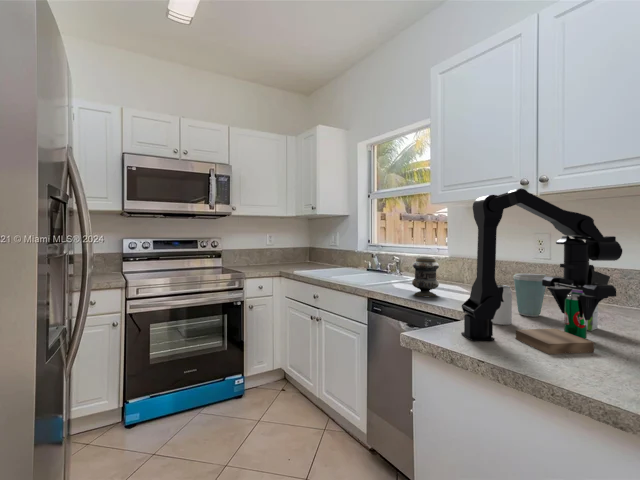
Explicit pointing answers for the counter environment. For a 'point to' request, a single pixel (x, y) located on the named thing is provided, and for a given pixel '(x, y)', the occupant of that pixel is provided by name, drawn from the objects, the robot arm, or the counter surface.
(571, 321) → the soda can
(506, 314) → the can
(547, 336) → the walnut base
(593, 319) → the syrup box
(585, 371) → the counter surface
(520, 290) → the disposable coffee cup
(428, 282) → the apothecary jar
